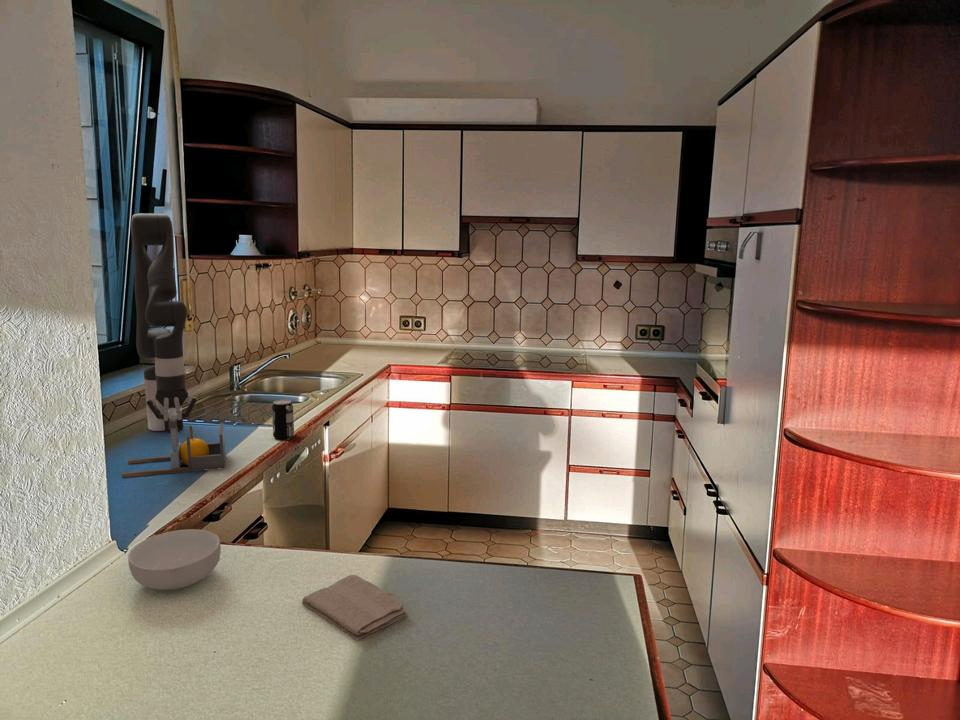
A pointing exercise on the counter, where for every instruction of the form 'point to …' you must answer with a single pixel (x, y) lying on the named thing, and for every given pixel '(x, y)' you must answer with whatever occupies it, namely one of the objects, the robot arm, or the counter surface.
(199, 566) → the cereal bowl
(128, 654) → the counter surface
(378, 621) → the washcloth
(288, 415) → the beverage can
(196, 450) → the orange
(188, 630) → the counter surface
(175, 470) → the rails
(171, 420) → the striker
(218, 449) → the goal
